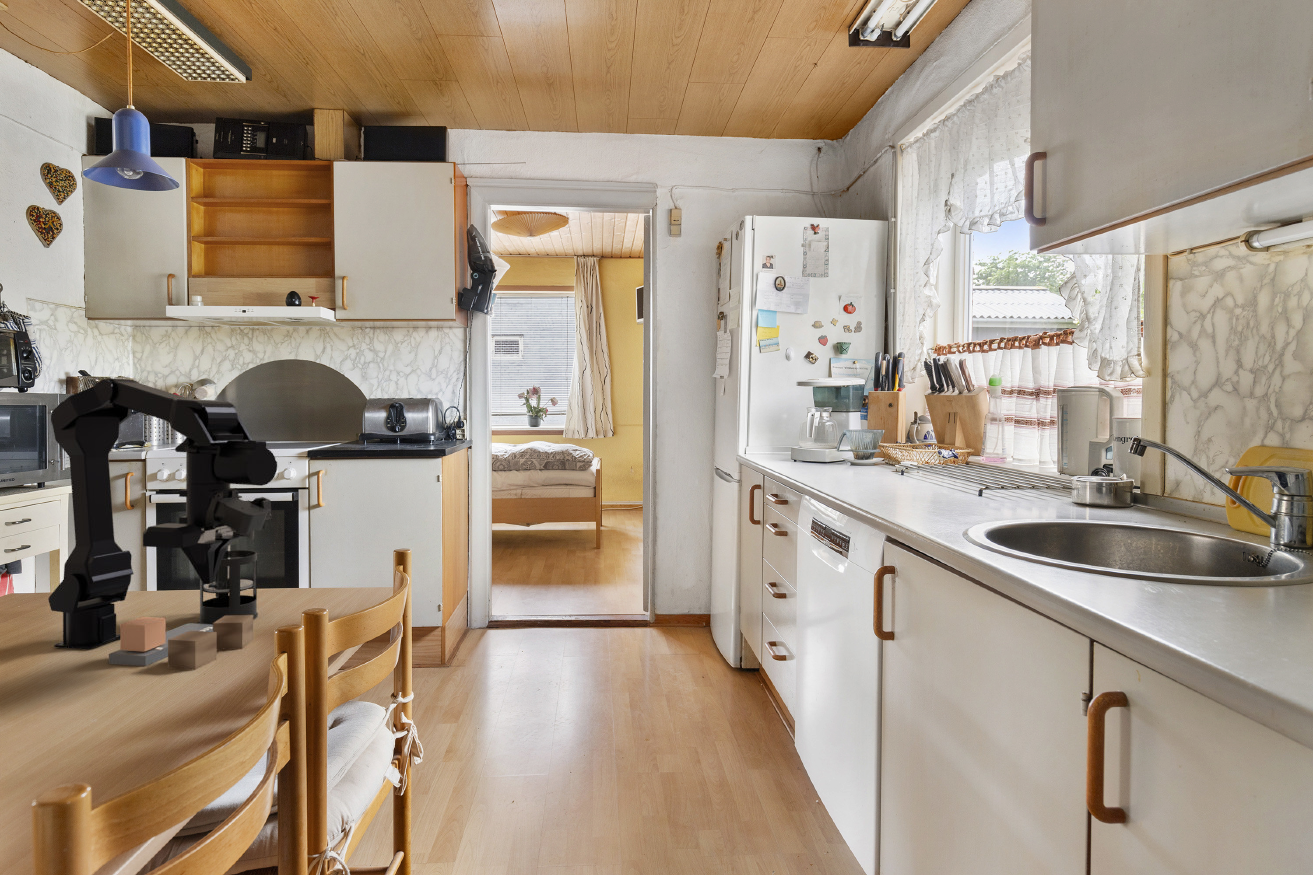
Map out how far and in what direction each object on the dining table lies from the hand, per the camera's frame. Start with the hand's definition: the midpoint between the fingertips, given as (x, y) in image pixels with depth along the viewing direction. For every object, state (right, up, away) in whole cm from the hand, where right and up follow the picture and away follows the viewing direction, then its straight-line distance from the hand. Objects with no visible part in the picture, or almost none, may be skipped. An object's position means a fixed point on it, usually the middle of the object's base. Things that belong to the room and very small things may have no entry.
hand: (208, 583), depth 109 cm
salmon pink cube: (-11, -10, +1) cm, 15 cm away
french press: (-11, -11, +22) cm, 27 cm away
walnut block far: (-1, -12, +8) cm, 14 cm away
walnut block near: (-2, -12, -1) cm, 12 cm away
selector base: (-10, -12, +6) cm, 16 cm away
